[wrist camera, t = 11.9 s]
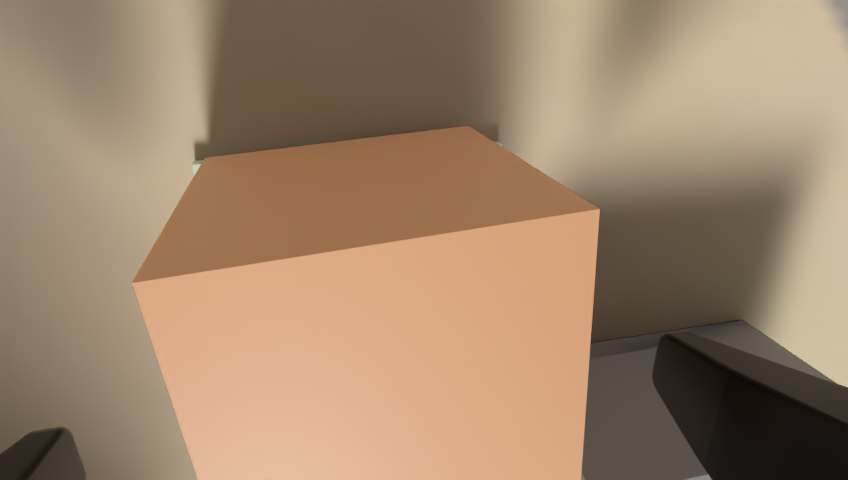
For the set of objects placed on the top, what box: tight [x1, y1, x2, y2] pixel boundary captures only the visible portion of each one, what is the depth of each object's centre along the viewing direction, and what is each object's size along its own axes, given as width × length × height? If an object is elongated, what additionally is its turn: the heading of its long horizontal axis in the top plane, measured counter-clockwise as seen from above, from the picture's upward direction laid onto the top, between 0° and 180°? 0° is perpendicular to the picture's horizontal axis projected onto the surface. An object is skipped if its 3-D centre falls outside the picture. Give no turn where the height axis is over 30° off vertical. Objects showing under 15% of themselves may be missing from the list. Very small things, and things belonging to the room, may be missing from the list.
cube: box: [132, 126, 600, 480], centre depth 9 cm, size 5×5×5 cm
